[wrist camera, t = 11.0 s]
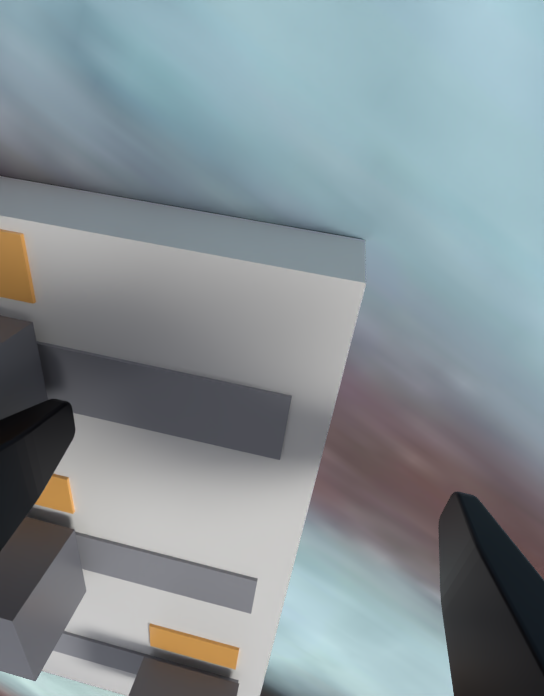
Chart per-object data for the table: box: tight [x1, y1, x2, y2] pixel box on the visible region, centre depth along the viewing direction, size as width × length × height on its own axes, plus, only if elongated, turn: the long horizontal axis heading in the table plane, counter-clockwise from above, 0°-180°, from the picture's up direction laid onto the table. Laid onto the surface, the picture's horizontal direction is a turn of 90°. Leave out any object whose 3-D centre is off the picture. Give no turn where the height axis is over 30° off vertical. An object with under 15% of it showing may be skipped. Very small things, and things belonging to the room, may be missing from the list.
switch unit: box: [0, 176, 366, 696], centre depth 16 cm, size 23×14×3 cm, turn 173°
